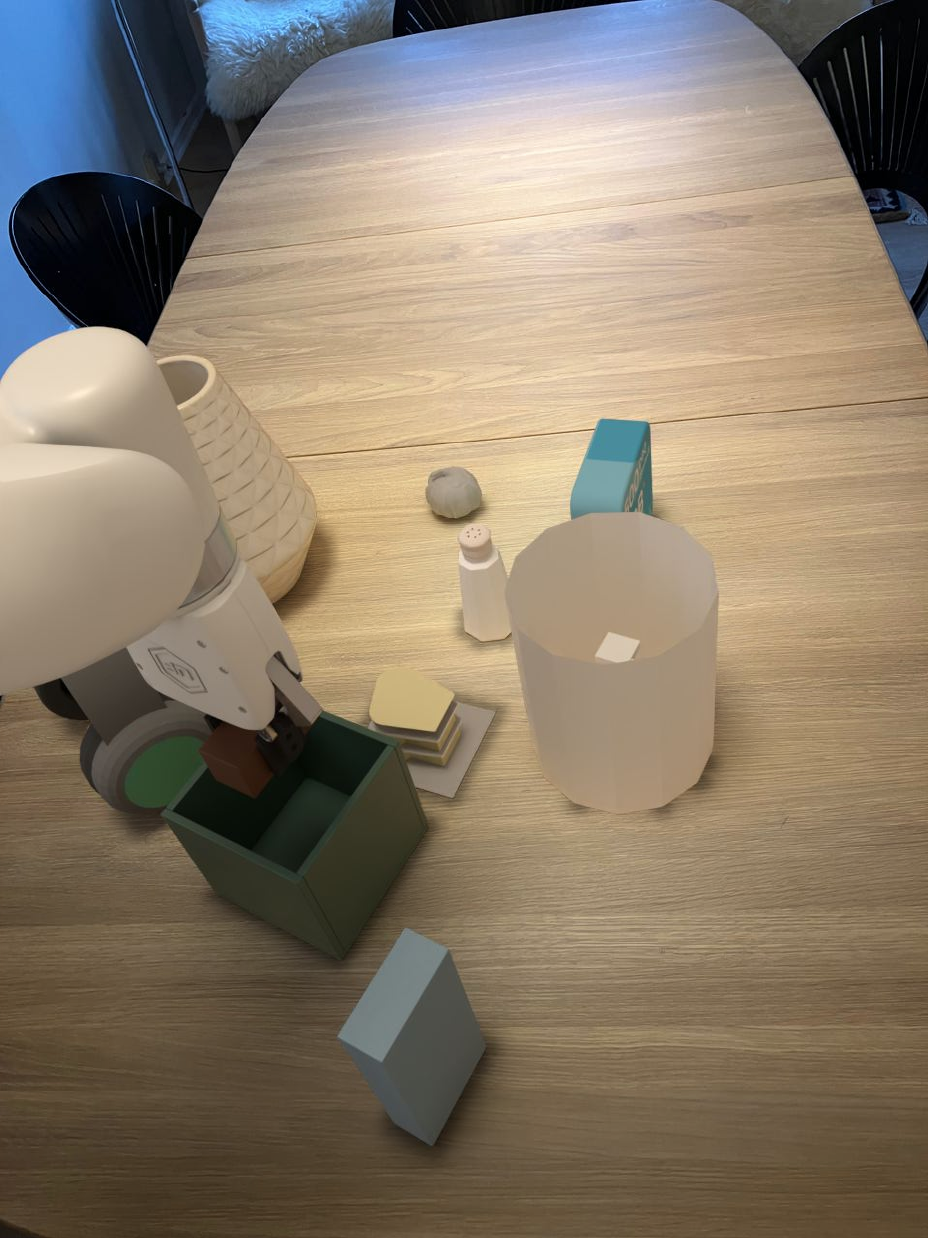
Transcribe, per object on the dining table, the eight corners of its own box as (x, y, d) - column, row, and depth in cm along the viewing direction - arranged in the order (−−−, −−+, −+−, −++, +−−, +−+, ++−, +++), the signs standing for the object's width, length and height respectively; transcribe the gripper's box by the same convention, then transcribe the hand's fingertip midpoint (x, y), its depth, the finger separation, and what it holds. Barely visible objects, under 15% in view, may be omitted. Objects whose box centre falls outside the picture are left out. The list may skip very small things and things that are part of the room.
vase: (236, 668, 95) (140, 477, 79) (132, 592, 105) (26, 407, 88) (369, 557, 103) (307, 360, 86) (260, 495, 112) (185, 307, 95)
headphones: (53, 712, 95) (-61, 558, 81) (158, 649, 99) (67, 490, 84) (133, 848, 84) (17, 697, 69) (249, 772, 87) (162, 612, 73)
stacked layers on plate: (496, 712, 87) (486, 671, 83) (452, 798, 82) (440, 759, 78) (392, 685, 91) (378, 644, 87) (345, 766, 86) (328, 727, 82)
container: (671, 840, 77) (668, 690, 64) (501, 775, 83) (467, 627, 70) (736, 696, 84) (746, 537, 71) (577, 647, 91) (559, 492, 77)
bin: (341, 961, 74) (297, 884, 66) (215, 893, 80) (159, 814, 71) (429, 827, 81) (399, 740, 72) (307, 772, 86) (265, 686, 78)
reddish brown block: (255, 799, 67) (238, 769, 64) (215, 780, 68) (197, 750, 66) (317, 719, 71) (303, 687, 68) (278, 703, 72) (263, 671, 70)
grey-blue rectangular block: (432, 1147, 65) (381, 1063, 54) (393, 1123, 66) (336, 1036, 55) (487, 1046, 69) (449, 948, 58) (449, 1026, 70) (405, 926, 59)
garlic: (418, 521, 105) (408, 482, 101) (441, 487, 108) (432, 448, 104) (471, 532, 103) (463, 492, 99) (493, 497, 106) (486, 457, 102)
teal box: (627, 602, 93) (621, 503, 84) (579, 596, 95) (567, 498, 86) (653, 513, 100) (650, 413, 92) (608, 509, 102) (600, 410, 93)
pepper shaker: (453, 637, 94) (432, 550, 86) (475, 594, 97) (455, 507, 89) (509, 648, 92) (492, 560, 84) (529, 604, 95) (514, 515, 87)
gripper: (13, 558, 58) (140, 747, 71) (237, 645, 50) (331, 838, 64) (104, 475, 61) (209, 669, 75) (325, 544, 54) (396, 746, 68)
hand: (264, 745), depth 69 cm, fingers closed on reddish brown block, 3 cm apart
